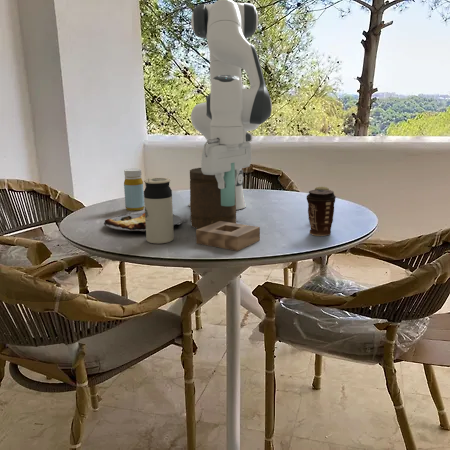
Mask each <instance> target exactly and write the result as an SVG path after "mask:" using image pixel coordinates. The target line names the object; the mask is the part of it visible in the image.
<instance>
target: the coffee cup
mask: <svg viewBox="0 0 450 450" xmlns="http://www.w3.org/2000/svg"><path fill="white" fill-rule="evenodd" d="M336 198H337V197H336V194H335V192H334V191H333V190H331V189H329V190H325V189H324V190H321V189H319V190H317V189H316V190H314V189H312V190H309V191H308V194H306V201H307V205H308V207H307V214H308V215H307V216H308V221H309V226H310V230H309V234H310V235H311V234H312V236H314V237H325V236H330V235H331V234H332V231H331V230H332V225H333V222H334V216H335V215H334V214H335V202H336Z"/></svg>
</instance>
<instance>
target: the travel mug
mask: <svg viewBox="0 0 450 450" xmlns="http://www.w3.org/2000/svg"><path fill="white" fill-rule="evenodd" d="M143 183H145V187H144V189H143V191H144V212H145V222H146V230H145V236H146V237H145V238H146V241H147V242H148V243H150V244H153V245H155V244H157V245H159V244H160V245H161V244H167V243H170V242H172V241H173V240H174V239H175V235H174V234H175V232H174V225H173V214H174V212H173V191H172V189H171V186H170V184H171V178H169V177H151V178H149V177H148V178H145V179H144V180H143Z"/></svg>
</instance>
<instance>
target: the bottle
mask: <svg viewBox="0 0 450 450" xmlns="http://www.w3.org/2000/svg"><path fill="white" fill-rule="evenodd" d="M123 188H124V189H123V190H124V191H123V192H124V202H125V203H124V204H125V209H126V210H127V211H128V212H138V211H139V212H140V211H143V210H145V205H144V180H143V178H142V169H141V168H128V169H124V182H123Z"/></svg>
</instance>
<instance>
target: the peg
mask: <svg viewBox="0 0 450 450" xmlns="http://www.w3.org/2000/svg"><path fill="white" fill-rule="evenodd" d="M223 178H224V182H226V188H224V189H221V206H234V205H235V162H234V163H231V170H230V171H228V172H224V176H223Z"/></svg>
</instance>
